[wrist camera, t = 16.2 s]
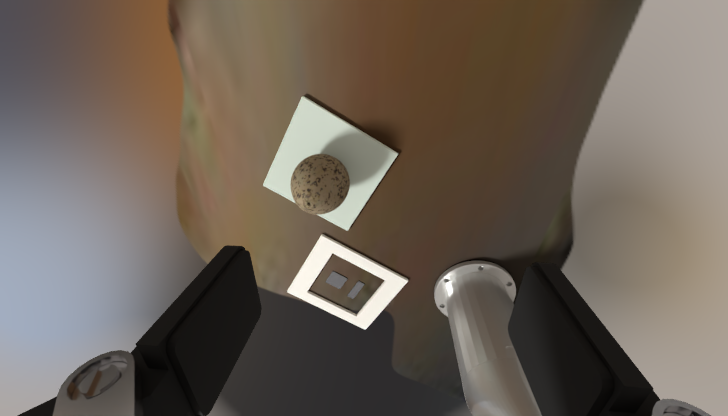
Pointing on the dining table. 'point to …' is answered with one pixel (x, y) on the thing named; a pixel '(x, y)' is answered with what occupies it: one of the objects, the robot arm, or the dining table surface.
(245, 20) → the dining table surface
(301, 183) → the decorative egg
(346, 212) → the sage mat
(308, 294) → the white square frame
